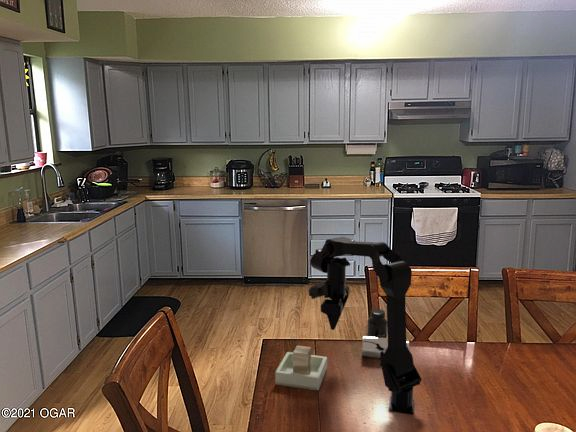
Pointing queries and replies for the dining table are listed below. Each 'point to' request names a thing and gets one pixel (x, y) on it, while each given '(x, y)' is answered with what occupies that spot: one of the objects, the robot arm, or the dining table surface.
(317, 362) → the bin
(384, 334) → the supplement bottle
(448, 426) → the dining table surface
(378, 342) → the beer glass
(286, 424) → the dining table surface
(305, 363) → the birch block
